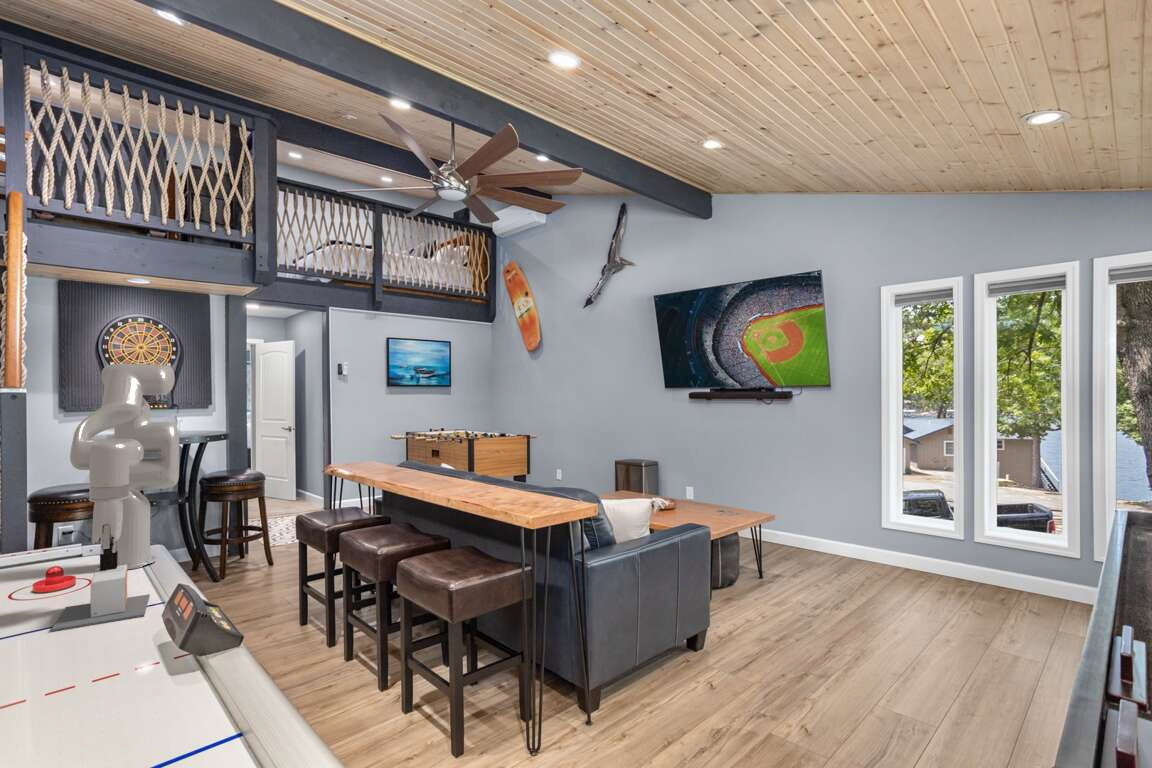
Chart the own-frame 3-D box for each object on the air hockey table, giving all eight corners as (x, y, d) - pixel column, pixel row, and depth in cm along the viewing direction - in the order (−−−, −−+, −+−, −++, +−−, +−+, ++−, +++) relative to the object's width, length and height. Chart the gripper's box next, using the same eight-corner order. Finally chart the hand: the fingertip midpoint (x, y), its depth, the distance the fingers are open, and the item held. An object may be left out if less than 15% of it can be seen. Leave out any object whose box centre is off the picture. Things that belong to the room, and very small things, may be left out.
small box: (128, 595, 145) (125, 612, 134) (95, 601, 141) (89, 618, 131) (128, 563, 145) (125, 577, 134) (95, 568, 141) (89, 582, 131)
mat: (65, 609, 138) (66, 606, 138) (149, 596, 146) (149, 594, 146) (51, 631, 124) (51, 629, 124) (144, 616, 133) (144, 614, 133)
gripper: (94, 490, 145) (93, 564, 145) (84, 499, 133) (83, 580, 132) (132, 487, 149) (131, 559, 149) (125, 496, 137) (124, 574, 136)
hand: (108, 569), depth 141 cm, fingers closed
